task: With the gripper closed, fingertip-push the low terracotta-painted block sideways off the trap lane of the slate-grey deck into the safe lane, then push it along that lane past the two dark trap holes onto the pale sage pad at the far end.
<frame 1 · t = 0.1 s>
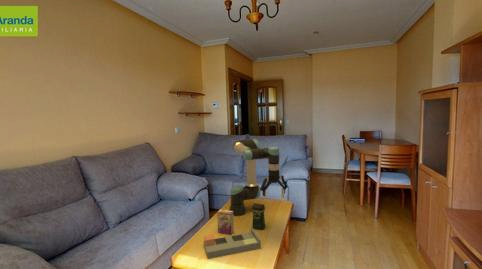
hand: (274, 199, 169), 28 cm above the table, fingers open, 13 cm apart
coffee jar: (258, 227, 187), on the table
deck: (230, 245, 162), on the table
candy bar box: (225, 232, 181), on the table
block: (209, 242, 162), point 2 cm above the table, touching deck
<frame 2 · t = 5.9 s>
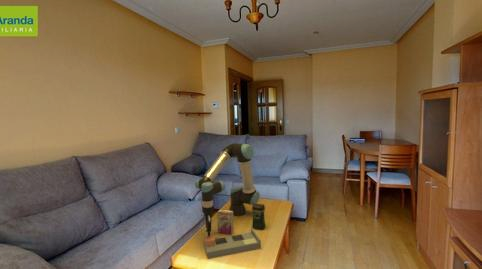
hand: (208, 239, 164), 4 cm above the table, fingers closed
block: (210, 244, 160), point 3 cm above the table
everything else where it was.
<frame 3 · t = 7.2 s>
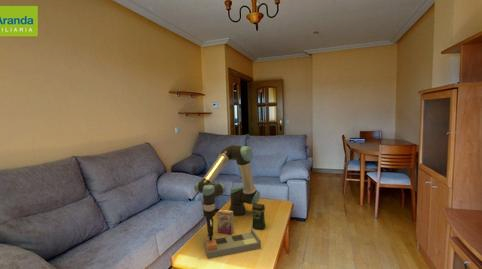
hand: (210, 243, 158), 4 cm above the table, fingers closed
block: (211, 248, 155), point 3 cm above the table, touching deck, gripper
everything else where it was.
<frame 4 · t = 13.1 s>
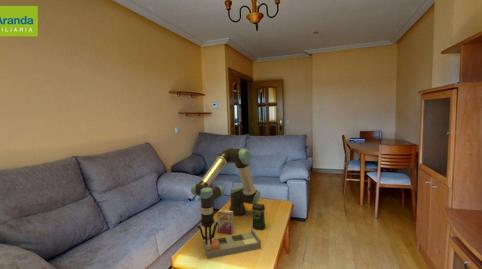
hand: (208, 248, 154), 3 cm above the table, fingers closed
block: (214, 248, 155), point 3 cm above the table
everything else where it was.
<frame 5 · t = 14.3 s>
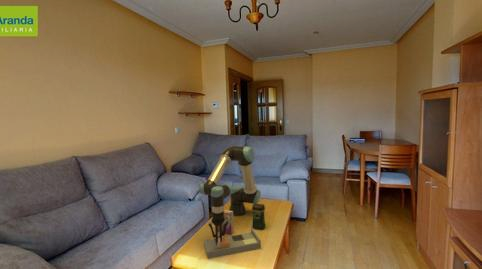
hand: (219, 246, 156), 4 cm above the table, fingers closed
block: (224, 246, 157), point 3 cm above the table, touching gripper
everything else where it was.
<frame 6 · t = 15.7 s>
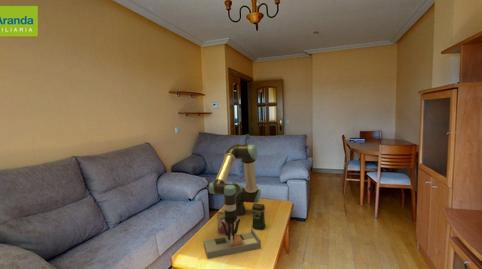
hand: (231, 244, 158), 4 cm above the table, fingers closed
block: (236, 244, 160), point 3 cm above the table, touching gripper
everything else where it was.
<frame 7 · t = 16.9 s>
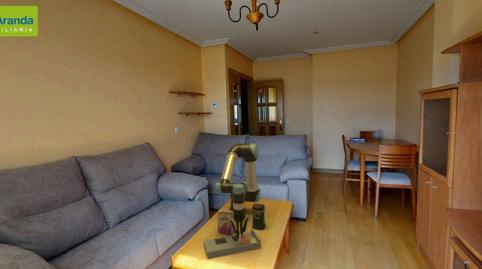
hand: (239, 242, 159), 4 cm above the table, fingers closed
block: (245, 242, 161), point 3 cm above the table
everything else where it was.
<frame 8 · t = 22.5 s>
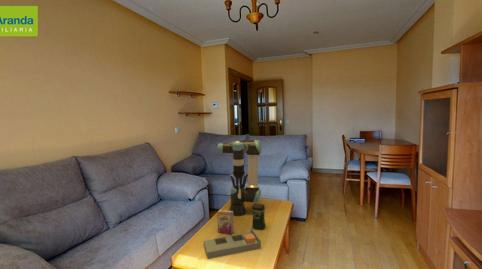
hand: (239, 197, 169), 29 cm above the table, fingers closed
block: (249, 242, 162), point 2 cm above the table, touching deck
everything else where it was.
at the end: block inside the target area (0.9 cm from its centre), point 2.5 cm above the table; block tilted 0° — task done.
